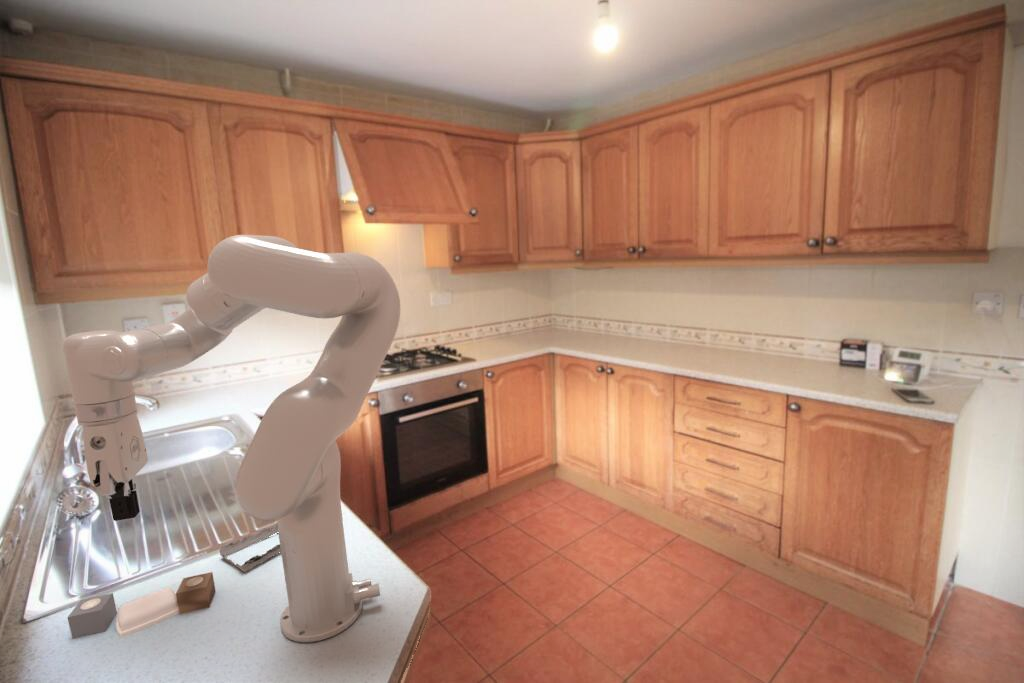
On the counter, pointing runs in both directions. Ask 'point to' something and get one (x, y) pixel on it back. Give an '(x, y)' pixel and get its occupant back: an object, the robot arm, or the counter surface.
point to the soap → (146, 611)
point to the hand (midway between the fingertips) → (126, 516)
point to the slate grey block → (92, 615)
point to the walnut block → (195, 593)
